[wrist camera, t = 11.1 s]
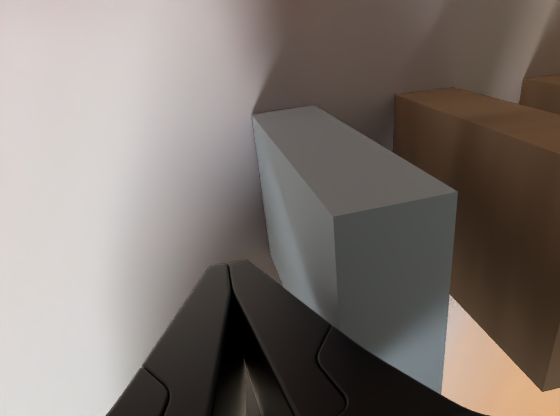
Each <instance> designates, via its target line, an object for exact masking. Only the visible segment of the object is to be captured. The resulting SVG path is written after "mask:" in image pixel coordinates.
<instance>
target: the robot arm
mask: <svg viewBox="0 0 560 416" xmlns="http://www.w3.org/2000/svg"><path fill="white" fill-rule="evenodd" d="M244 360H245V362H244ZM245 364H246V368H247V372H248V375H249V379H250V382H251V385H252V388H253V392H254V395H255V398H256V401H257V405H258V408H259V411H260V414H261V416H489V415H484V414H481V413H477V412H474V411H472V410H469V409H467V408H465V407H462V406H460V405H458V404H457V403H455V402H453V401H451V400H449V399H447V398H446V397H444V396H442V395H441V394H439V393H437V392H436V391H434V390H432V389H430V388H429V387H427V386H425V385H424V384H422V383H420V382H419V381H417V380H415V379H414V378H412V377H410V376H408V375H407V374H405V373H403V372H402V371H400V370H398V369H397V368H395V367H393V366H392V365H390V364H388V363H387V362H385V361H383V360H382V359H380V358H379V357H377V356H375V355H374V354H372V353H371V352H369V351H367V350H366V349H364V348H363V347H362V346H360V345H359V344H357V343H356V342H355V341H353V340H352V339H350V338H349V337H348V336H346V335H345V334H344V333H342V332H341V331H340V330H338V329H337V328H336V327H333V326H332V324H330V323H329V322H328V321H326V320H325V319H324V318H322V317H321V316H320V315H319V314H317V313H316V312H315V311H313V310H312V309H311V308H309V307H308V306H307V305H306V304H304V303H303V302H302V301H300V300H299V299H298V298H296V297H295V296H294V295H293V294H291V293H290V292H289V291H287V290H286V289H285V288H283V287H282V286H281V285H279V284H278V283H277V282H276V281H274V280H273V279H272V278H270V277H269V276H268V275H266V274H265V273H264V272H263V271H261V270H260V269H259V268H257V267H256V266H255V265H253V264H252V263H251V262H250V261H248V260H240V261H234V262H230V263H229V266H228V265H227V264H226V263H224V264H218V265H213V266H210V267H208V268H207V270H206V271H205V273H204V274H203V276H202V277H201V279H200V280H199V282H198V283H197V285H196V286H195V288H194V289H193V291H192V292H191V294H190V295H189V297H188V298H187V300H186V301H185V303H184V304H183V305H182V307H181V308H180V310H179V311H178V313H177V314H176V316H175V317H174V319H173V320H172V322H171V323H170V325H169V326H168V328H167V329H166V331H165V332H164V334H163V335H162V337H161V338H160V340H159V341H158V342H157V344H156V345H155V347H154V348H153V350H152V351H151V353H150V354H149V356H148V357H147V359H146V360H145V362H144V363H143V365H142V368H140V369H139V370H138V372H137V373H136V375H135V376H134V378H133V379H132V381H131V382H130V384H129V385H128V386H127V388H126V389H125V390H124V392H123V393H122V395H121V396H120V397H119V399H118V400H117V402H116V403H115V404H114V406H113V407H112V408H111V409H110V411H109V412H108V413H107V414H106V416H247V413H246V379H245Z"/></svg>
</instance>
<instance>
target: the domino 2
mask: <svg viewBox="0 0 560 416" xmlns="http://www.w3.org/2000/svg"><path fill="white" fill-rule="evenodd" d="M393 153H395V154H396V155H398V156H400V157H401V158H403V159H405V160H406V161H408V162H410V163H411V164H413V165H414V166H416V167H418V168H419V169H421V170H423V171H424V172H426V173H428V174H429V175H431V176H433V177H434V178H436V179H438V180H439V181H441V182H443V183H444V184H446V185H448V186H449V187H451V188H452V189H454V190H456V191H457V192H458V197H457V209H456V221H455V233H454V245H453V257H452V269H451V281H450V293H449V294H450V295H451V296H452V297H453V298H454V299H455V300H456V301H457V302H458V303H459V304H460V306H461V307H462V308H463V309H464V310H465V311H466V312H467V313H468V314H469V315H470V316H471V317H472V318H473V319H474V320H475V321H476V322H477V323H478V325H479V326H480V327H481V328H482V329H483V330H484V331H485V332H486V333H487V334H488V335H489V336H490V337H491V338H492V339H493V340H494V341H495V342H496V344H497V345H498V346H499V347H500V348H501V349H502V350H503V351H504V352H505V353H506V354H507V355H508V356H509V357H510V358H511V359H512V360H513V361H514V363H515V364H516V365H517V366H518V367H519V368H520V369H521V370H522V371H523V372H524V373H525V374H526V375H527V376H528V377H529V378H530V379H531V380H532V382H533V383H534V384H535V385H536V386H537V387H538V388H539V389H540V390H541V391H542V392H544V391H548V390H552V389H556V388H560V115H559V114H555V113H551V112H547V111H543V110H539V109H535V108H531V107H527V106H523V105H519V104H516V103H512V102H508V101H504V100H500V99H496V98H492V97H488V96H484V95H480V94H476V93H472V92H468V91H464V90H461V89H457V88H453V87H451V88H443V89H435V90H427V91H419V92H411V93H403V94H395V104H394V135H393Z"/></svg>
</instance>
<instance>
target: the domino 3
mask: <svg viewBox="0 0 560 416" xmlns="http://www.w3.org/2000/svg"><path fill="white" fill-rule="evenodd" d="M519 105H523V106H527V107H531V108H535V109H539V110H543V111H547V112H551V113H555V114H559V115H560V74H556V75H547V76H539V77H531V78H523V83H522V89H521V96H520V102H519Z"/></svg>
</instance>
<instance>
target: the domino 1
mask: <svg viewBox="0 0 560 416" xmlns="http://www.w3.org/2000/svg"><path fill="white" fill-rule="evenodd" d="M251 116H252V123H253V130H254V138H255V145H256V153H257V160H258V168H259V175H260V182H261V190H262V197H263V205H264V212H265V220H266V227H267V234H268V242H269V249H270V255H271V258H272V260H273V263H274V265H275V268H276V270H277V273H278V275H279V278H280V280H281V283H282V285H283V288H285V289H286V290H287V291H289V292H290V293H291V294H293V295H294V296H295V297H296V298H298V299H299V300H300V301H302V302H303V303H304V304H306V305H307V306H308V307H309V308H311V309H312V310H313V311H315V312H316V313H317V314H319V315H320V316H321V317H322V318H324V319H325V320H326V321H328V322H329V323H330V324H332V326H333V327H336V328H337V329H338V330H340V331H341V332H342V333H344V334H345V335H346V336H348V337H349V338H350V339H352V340H353V341H355V342H356V343H357V344H359V345H360V346H362V347H363V348H364V349H366V350H367V351H369V352H371V353H372V354H374V355H375V356H377V357H379V358H380V359H382V360H383V361H385V362H387V363H388V364H390V365H392V366H393V367H395V368H397V369H398V370H400V371H402V372H403V373H405V374H407V375H408V376H410V377H412V378H414V379H415V380H417V381H419V382H420V383H422V384H424V385H425V386H427V387H429V388H430V389H432V390H434V391H436V392H437V393H439V394H441V389H442V377H443V365H444V353H445V341H446V329H447V317H448V305H449V293H450V281H451V269H452V257H453V245H454V233H455V221H456V209H457V197H458V192H457V191H456V190H454V189H452V188H451V187H449V186H448V185H446V184H444V183H443V182H441V181H439V180H438V179H436V178H434V177H433V176H431V175H429V174H428V173H426V172H424V171H423V170H421V169H419V168H418V167H416V166H414V165H413V164H411V163H410V162H408V161H406V160H405V159H403V158H401V157H400V156H398V155H396V154H395V153H393V152H391V151H390V150H388V149H386V148H385V147H383V146H381V145H380V144H378V143H376V142H375V141H373V140H372V139H370V138H368V137H367V136H365V135H363V134H362V133H360V132H358V131H357V130H355V129H353V128H352V127H350V126H348V125H347V124H345V123H343V122H342V121H340V120H338V119H337V118H335V117H333V116H332V115H330V114H329V113H327V112H325V111H324V110H322V109H320V108H319V107H317V106H315V105H310V106H303V107H297V108H290V109H284V110H278V111H271V112H265V113H258V114H252V115H251Z"/></svg>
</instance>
